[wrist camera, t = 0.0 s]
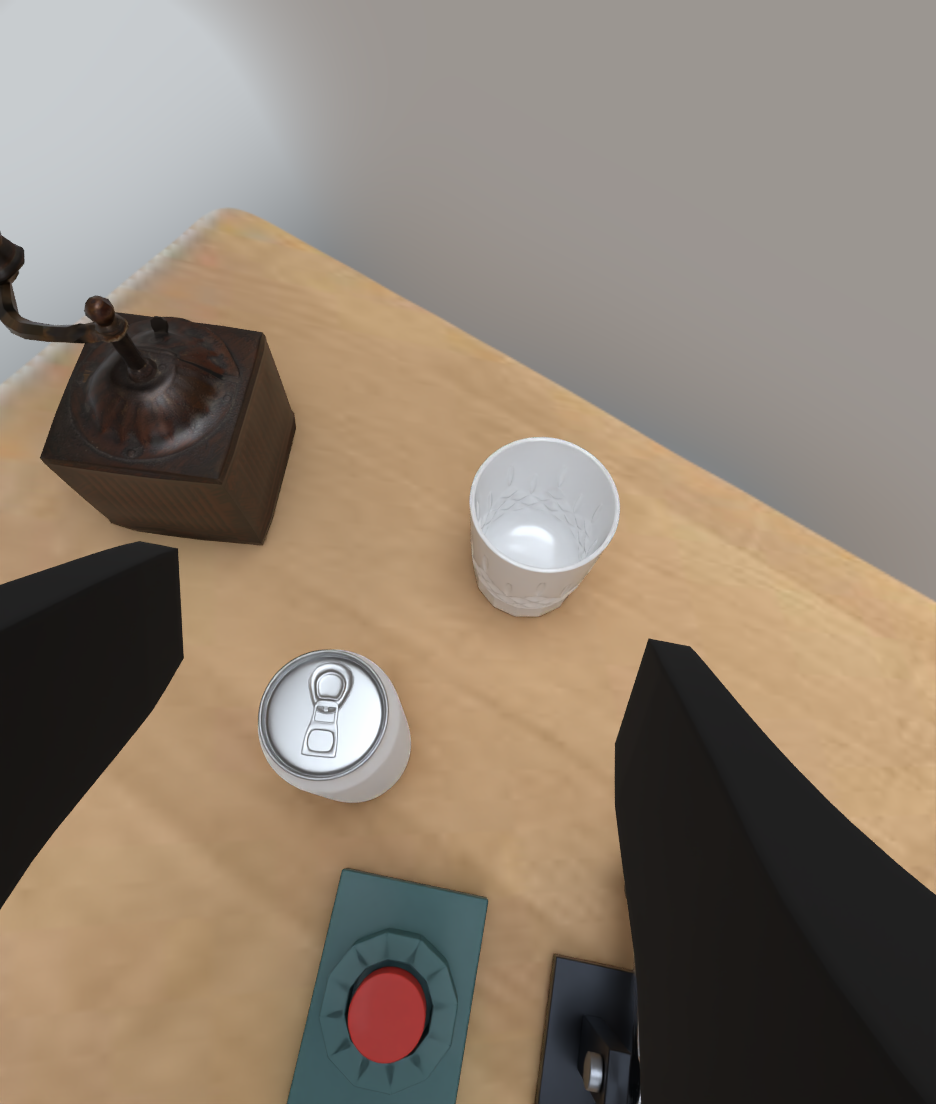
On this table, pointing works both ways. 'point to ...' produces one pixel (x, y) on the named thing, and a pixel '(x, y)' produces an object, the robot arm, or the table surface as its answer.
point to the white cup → (539, 523)
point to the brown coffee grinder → (165, 419)
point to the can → (334, 726)
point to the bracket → (587, 1034)
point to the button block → (391, 941)
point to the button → (387, 1015)
